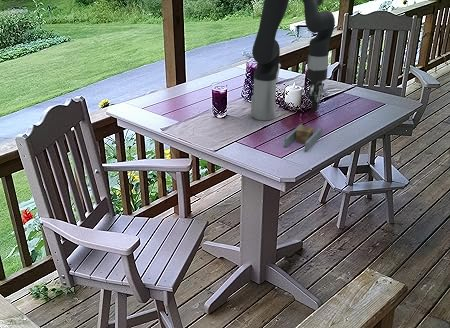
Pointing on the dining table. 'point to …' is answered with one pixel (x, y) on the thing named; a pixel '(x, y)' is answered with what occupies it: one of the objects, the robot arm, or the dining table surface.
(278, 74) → the smoothie
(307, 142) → the channel
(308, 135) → the block
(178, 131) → the dining table surface
